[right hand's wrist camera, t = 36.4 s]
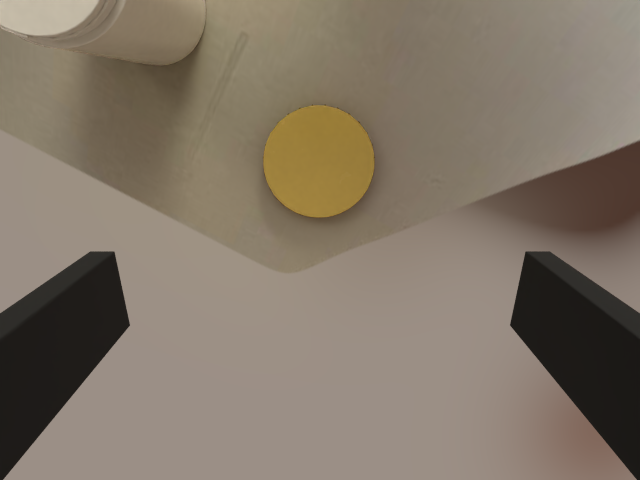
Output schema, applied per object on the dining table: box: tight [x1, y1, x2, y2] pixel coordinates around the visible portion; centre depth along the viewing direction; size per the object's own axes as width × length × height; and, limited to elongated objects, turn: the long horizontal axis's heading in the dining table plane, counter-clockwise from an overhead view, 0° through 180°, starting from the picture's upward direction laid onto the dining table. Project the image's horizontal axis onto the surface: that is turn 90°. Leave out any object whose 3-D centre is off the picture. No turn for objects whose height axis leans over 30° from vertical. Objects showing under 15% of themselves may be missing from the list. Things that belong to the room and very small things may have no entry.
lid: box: [263, 105, 375, 218], centre depth 36 cm, size 10×10×2 cm
